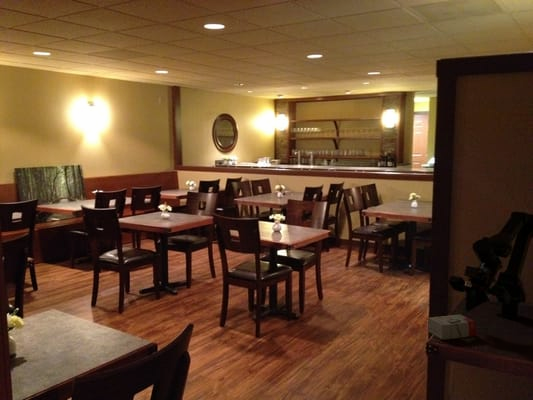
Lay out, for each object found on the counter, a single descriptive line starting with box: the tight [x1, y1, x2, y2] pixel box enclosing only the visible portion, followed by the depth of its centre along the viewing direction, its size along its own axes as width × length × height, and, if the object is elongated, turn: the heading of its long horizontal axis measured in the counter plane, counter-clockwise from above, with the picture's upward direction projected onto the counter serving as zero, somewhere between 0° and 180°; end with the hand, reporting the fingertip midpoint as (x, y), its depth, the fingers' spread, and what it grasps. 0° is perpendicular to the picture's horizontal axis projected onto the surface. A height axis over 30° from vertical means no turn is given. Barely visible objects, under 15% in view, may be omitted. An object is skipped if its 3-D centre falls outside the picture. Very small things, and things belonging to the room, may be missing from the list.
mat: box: [456, 336, 477, 343], centre depth 146 cm, size 4×6×1 cm
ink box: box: [427, 314, 477, 341], centre depth 149 cm, size 9×5×12 cm
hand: (467, 310), depth 146 cm, fingers closed
